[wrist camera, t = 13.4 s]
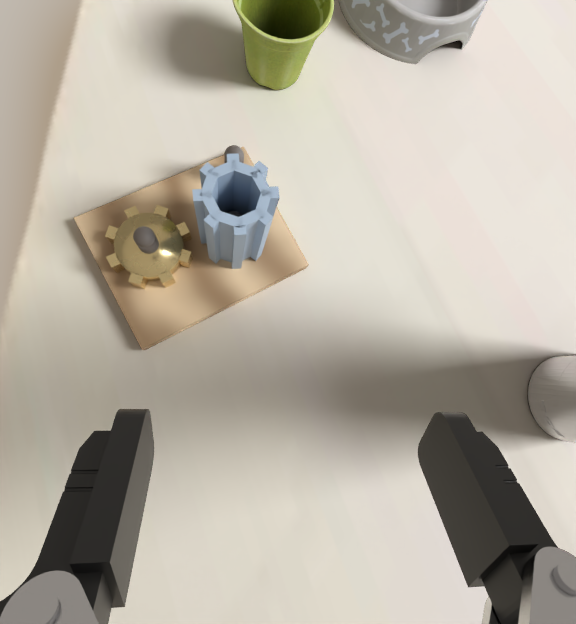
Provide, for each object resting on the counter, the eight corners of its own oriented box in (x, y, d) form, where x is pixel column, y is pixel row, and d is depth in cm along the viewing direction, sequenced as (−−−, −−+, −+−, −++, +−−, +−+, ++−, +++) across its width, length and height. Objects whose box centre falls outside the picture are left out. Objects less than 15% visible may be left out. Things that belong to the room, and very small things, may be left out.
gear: (171, 200, 39) (168, 191, 37) (207, 267, 39) (206, 262, 37) (96, 232, 38) (89, 225, 36) (133, 303, 37) (128, 299, 35)
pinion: (246, 197, 40) (253, 142, 31) (276, 251, 40) (292, 212, 30) (190, 223, 39) (178, 173, 29) (219, 278, 39) (218, 247, 29)
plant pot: (259, 118, 44) (268, 57, 35) (214, 48, 44) (211, -30, 35) (329, 84, 46) (353, 18, 37) (284, 17, 46) (298, -63, 37)
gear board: (242, 154, 43) (246, 117, 36) (305, 268, 42) (319, 250, 36) (79, 223, 39) (51, 195, 33) (144, 350, 38) (129, 346, 32)
